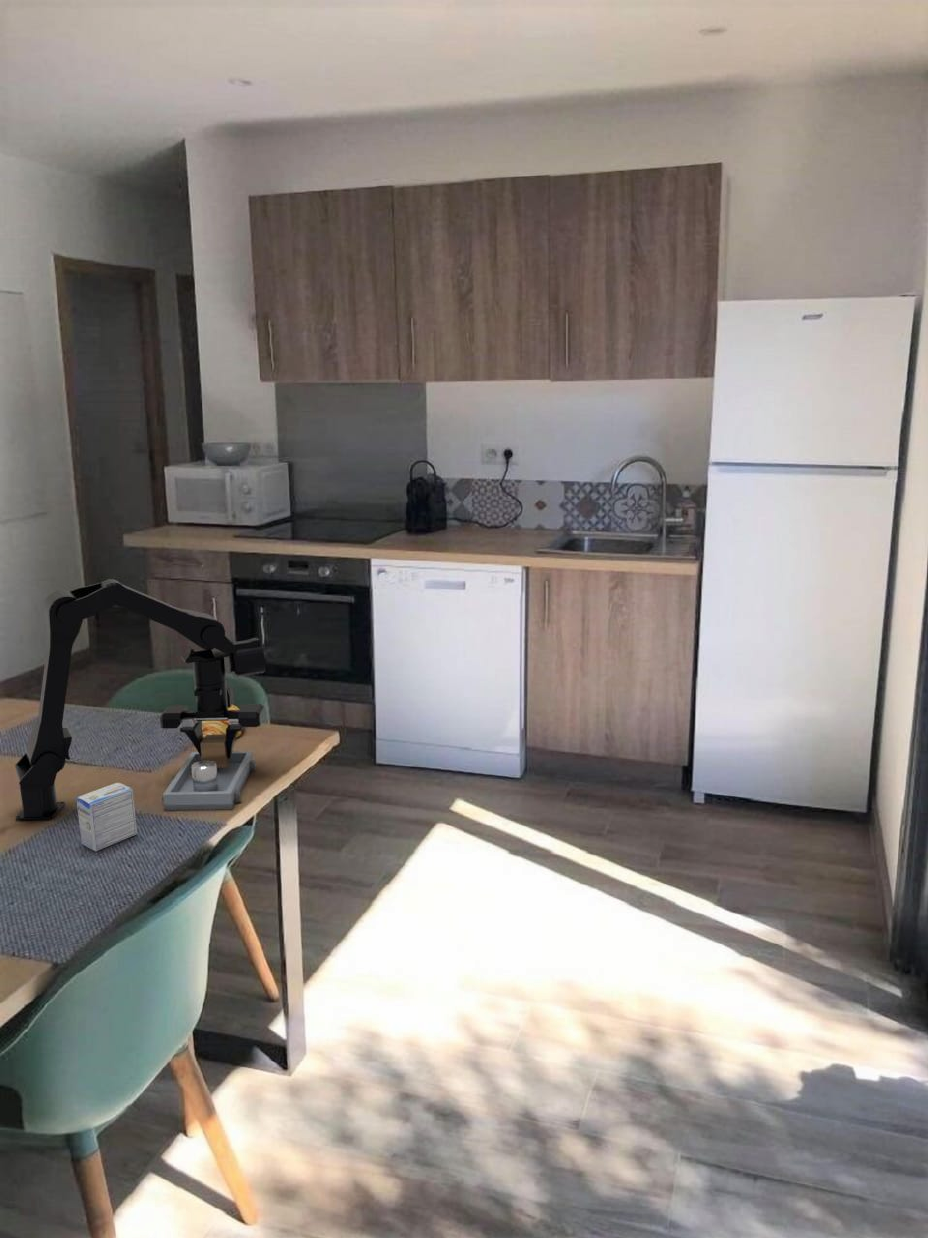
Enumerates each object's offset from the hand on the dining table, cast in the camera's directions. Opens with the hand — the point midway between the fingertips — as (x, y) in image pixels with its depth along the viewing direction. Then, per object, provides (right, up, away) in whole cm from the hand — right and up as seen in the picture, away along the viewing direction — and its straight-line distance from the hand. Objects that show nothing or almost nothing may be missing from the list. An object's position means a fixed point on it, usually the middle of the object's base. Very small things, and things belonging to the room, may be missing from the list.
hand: (216, 758), depth 191 cm
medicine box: (-12, -10, -25) cm, 29 cm away
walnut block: (0, -1, 0) cm, 1 cm away
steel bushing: (0, -5, -8) cm, 10 cm away
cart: (0, -5, -4) cm, 7 cm away
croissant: (-5, +2, +22) cm, 23 cm away
